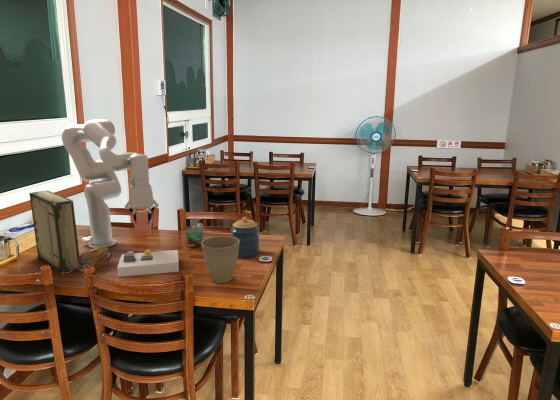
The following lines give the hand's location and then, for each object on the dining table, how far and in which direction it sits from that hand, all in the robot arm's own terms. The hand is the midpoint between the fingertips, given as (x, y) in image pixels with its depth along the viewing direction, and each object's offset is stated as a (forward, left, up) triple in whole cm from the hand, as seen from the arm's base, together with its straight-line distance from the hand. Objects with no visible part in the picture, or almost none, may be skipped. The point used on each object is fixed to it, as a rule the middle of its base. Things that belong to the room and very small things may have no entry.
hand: (142, 221), depth 199 cm
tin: (-20, -10, -17) cm, 28 cm away
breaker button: (-5, -15, -14) cm, 22 cm away
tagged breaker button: (+2, -15, -16) cm, 22 cm away
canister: (+45, -8, -17) cm, 49 cm away
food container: (+24, +10, -17) cm, 31 cm away
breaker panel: (+3, -15, -16) cm, 22 cm away
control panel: (-37, 0, -17) cm, 40 cm away
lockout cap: (0, 0, -3) cm, 3 cm away
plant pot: (+31, -36, -17) cm, 51 cm away
